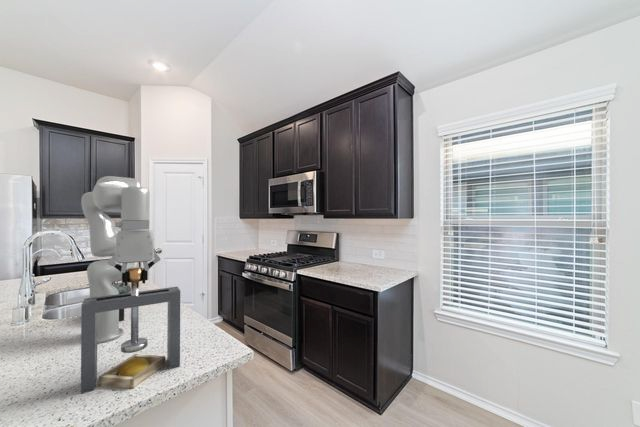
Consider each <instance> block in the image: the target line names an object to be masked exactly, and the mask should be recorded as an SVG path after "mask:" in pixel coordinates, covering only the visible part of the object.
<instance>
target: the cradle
mask: <svg viewBox="0 0 640 427" xmlns="http://www.w3.org/2000/svg"><path fill="white" fill-rule="evenodd" d="M137 358H142V359H145V360H147V361H148V362H149V364H150V365H149V366H148V367H146V368H145V369H144V370H142V371H141V372H140V373H138V374H137V375H135V376H134V377H128V376H120V375H119V370H120V368H121V367H122V366H123V365H124V364H125V363H127V362H128V361H130V360H133V359H137ZM164 365H166V355H165V356H164V355H153V354H142V353H141V354H140V353H134V354H133V355H131V356H129V357H128V358H127V359H124V360H123V361H122V362H119V363H118V364H116V365H115V366H114V367H112V368H110V369H108V370H107V371H105V372H104V373H102V374H101V375H99V376H98V385H99V386H104V387H105V386H106V387H115V388H126V389H135V388H136V387H137V386H139V385H140V384H141V383H143V382H144V381H145V380H147V379H148V378H149V377H150V376H152V375H153V374H154V373H155V372H157V371H158V370H160V369H161V368H162V367H163V366H164Z"/></svg>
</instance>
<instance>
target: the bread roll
mask: <svg viewBox="0 0 640 427" xmlns="http://www.w3.org/2000/svg"><path fill="white" fill-rule="evenodd" d="M149 365H150V364H149V362H148V361H147V360H145V359H142V358H137V359H133V360H130V361H128V362H127V363H125V364H124V365H123V366H122V367H121V368H120V370H119V375H118V376H128V377H134V376H135V375H137V374H138V373H140V372H141V371H142V370H144V369H145V368H146V367H148V366H149Z"/></svg>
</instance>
